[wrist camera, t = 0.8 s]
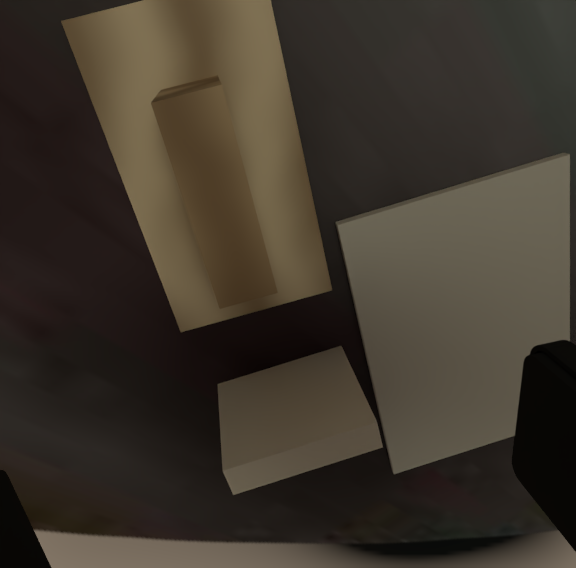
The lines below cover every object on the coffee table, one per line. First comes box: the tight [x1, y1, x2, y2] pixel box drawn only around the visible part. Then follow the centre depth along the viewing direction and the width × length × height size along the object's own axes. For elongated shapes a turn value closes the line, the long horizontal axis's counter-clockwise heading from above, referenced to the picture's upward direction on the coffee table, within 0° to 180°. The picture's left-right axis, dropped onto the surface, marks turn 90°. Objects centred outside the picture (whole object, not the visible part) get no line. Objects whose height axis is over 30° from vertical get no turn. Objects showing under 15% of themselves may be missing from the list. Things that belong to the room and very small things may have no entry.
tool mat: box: [335, 153, 570, 474], centre depth 37 cm, size 15×22×1 cm
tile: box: [218, 346, 383, 495], centre depth 32 cm, size 9×2×8 cm, turn 105°
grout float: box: [61, 0, 332, 332], centre depth 26 cm, size 10×18×7 cm, turn 13°
